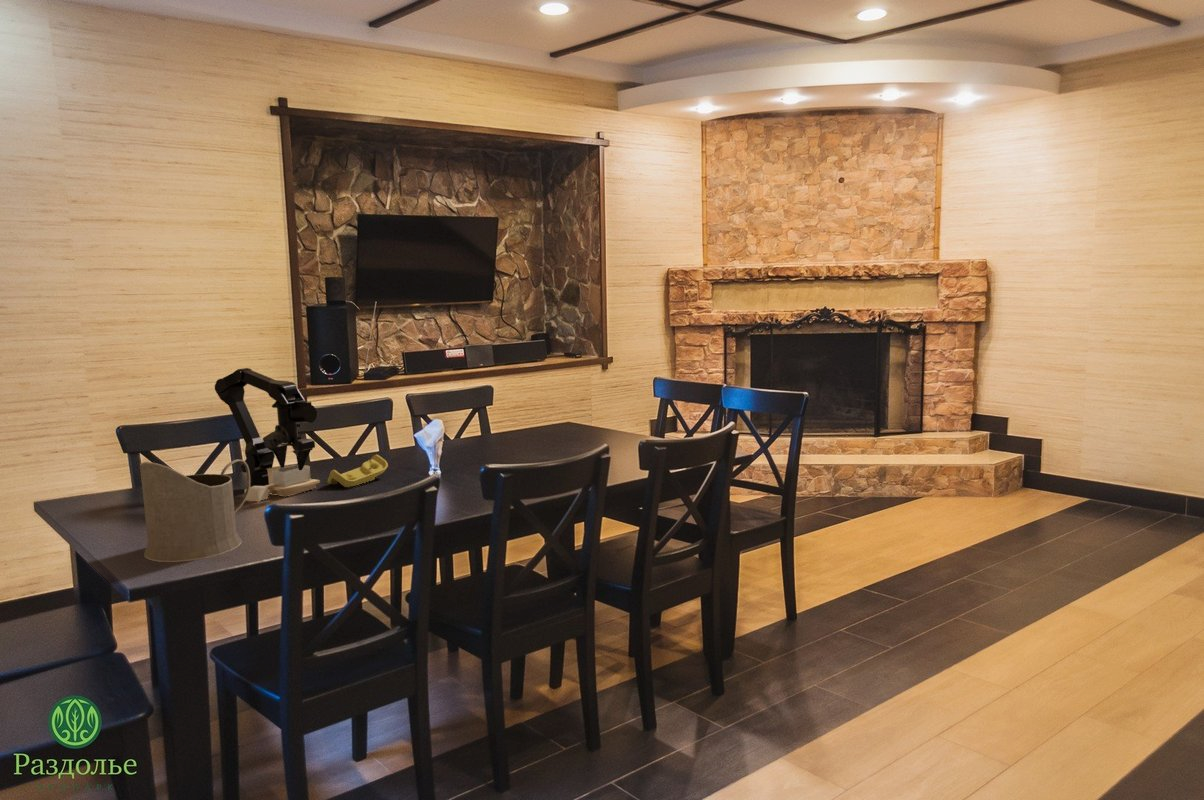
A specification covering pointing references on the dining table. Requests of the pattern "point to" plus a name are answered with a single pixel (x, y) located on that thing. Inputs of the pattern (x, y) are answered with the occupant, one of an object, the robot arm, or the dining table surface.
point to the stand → (292, 488)
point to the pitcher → (188, 513)
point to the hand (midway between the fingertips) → (291, 468)
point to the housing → (290, 475)
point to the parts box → (257, 493)
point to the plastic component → (360, 473)
